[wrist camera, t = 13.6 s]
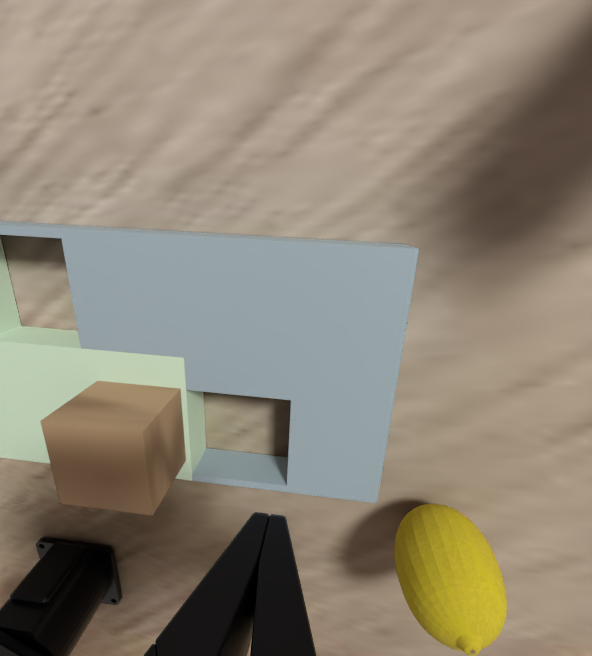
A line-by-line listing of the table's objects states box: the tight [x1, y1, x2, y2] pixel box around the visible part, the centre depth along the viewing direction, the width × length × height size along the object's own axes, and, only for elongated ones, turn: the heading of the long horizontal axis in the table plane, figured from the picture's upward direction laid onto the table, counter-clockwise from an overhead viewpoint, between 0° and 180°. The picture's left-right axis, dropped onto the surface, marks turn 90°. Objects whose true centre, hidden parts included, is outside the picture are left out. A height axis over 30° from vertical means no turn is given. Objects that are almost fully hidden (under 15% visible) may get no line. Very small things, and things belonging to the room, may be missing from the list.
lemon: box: [394, 504, 507, 655], centre depth 19 cm, size 6×6×8 cm
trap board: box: [0, 221, 419, 503], centre depth 20 cm, size 15×27×3 cm, turn 87°
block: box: [40, 381, 186, 516], centre depth 18 cm, size 5×5×4 cm
